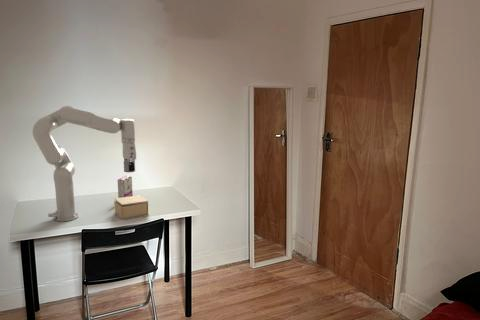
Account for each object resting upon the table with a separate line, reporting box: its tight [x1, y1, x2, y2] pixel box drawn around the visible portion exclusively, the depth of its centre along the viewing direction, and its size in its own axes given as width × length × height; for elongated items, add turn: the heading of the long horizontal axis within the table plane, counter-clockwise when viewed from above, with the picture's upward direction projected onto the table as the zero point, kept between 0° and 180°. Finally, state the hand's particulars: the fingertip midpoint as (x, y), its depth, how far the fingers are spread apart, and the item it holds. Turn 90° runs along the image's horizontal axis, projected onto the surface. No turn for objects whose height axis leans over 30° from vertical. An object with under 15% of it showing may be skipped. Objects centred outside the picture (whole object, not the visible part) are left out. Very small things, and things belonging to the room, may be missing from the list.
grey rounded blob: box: [123, 160, 136, 173], centre depth 221 cm, size 6×6×6 cm
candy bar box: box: [116, 175, 134, 198], centre depth 249 cm, size 11×5×16 cm, turn 168°
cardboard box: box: [114, 200, 149, 221], centre depth 226 cm, size 16×13×8 cm
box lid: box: [114, 194, 149, 206], centre depth 225 cm, size 16×13×1 cm
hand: (129, 169), depth 221 cm, fingers closed on grey rounded blob, 6 cm apart
